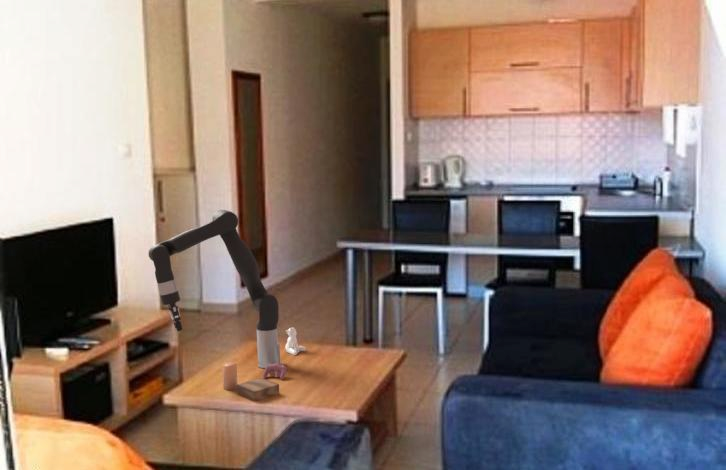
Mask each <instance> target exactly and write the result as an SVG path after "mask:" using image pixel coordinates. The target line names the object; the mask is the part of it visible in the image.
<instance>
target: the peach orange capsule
mask: <svg viewBox="0 0 726 470" xmlns="http://www.w3.org/2000/svg"><path fill="white" fill-rule="evenodd" d="M237 365H238V364H237V363H236V362H231V361H229V362H225V363H222V383H223V384H222V387H223V390H225V391H235V390H237V385H238V366H237Z"/></svg>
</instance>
